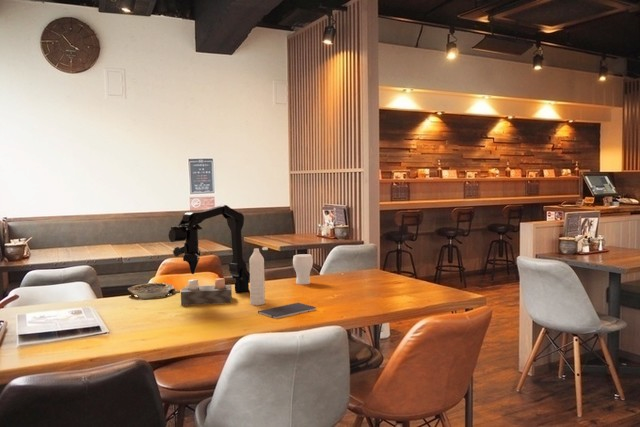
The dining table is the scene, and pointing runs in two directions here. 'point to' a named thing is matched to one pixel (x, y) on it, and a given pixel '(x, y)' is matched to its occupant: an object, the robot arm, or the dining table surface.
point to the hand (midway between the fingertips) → (192, 273)
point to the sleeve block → (206, 295)
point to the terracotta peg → (220, 283)
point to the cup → (302, 268)
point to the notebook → (286, 310)
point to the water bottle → (257, 278)
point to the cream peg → (193, 284)
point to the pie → (152, 290)
